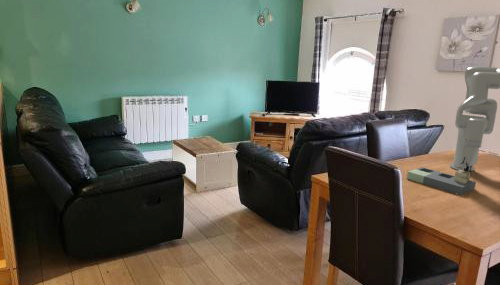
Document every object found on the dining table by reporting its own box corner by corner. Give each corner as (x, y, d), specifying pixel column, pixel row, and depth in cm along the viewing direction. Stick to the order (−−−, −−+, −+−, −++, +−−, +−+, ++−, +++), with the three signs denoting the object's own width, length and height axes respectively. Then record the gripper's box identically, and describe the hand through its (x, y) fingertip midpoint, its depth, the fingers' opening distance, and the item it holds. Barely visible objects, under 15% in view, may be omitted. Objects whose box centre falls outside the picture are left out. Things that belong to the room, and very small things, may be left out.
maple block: (458, 178, 185) (460, 169, 184) (468, 181, 181) (470, 172, 180) (454, 180, 182) (455, 171, 181) (464, 183, 178) (466, 174, 177)
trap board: (420, 173, 204) (421, 167, 203) (474, 189, 183) (475, 181, 182) (406, 178, 196) (407, 171, 195) (461, 195, 174) (462, 187, 173)
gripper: (470, 139, 187) (464, 173, 192) (457, 143, 179) (451, 178, 183) (486, 142, 182) (480, 177, 186) (474, 146, 173) (467, 182, 177)
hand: (466, 177), depth 185 cm, fingers closed
